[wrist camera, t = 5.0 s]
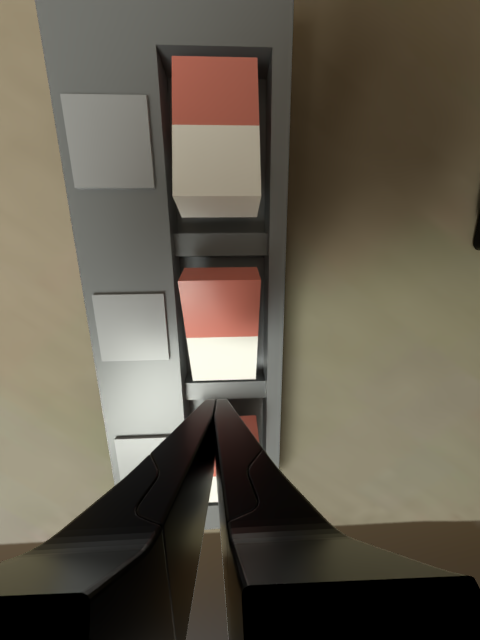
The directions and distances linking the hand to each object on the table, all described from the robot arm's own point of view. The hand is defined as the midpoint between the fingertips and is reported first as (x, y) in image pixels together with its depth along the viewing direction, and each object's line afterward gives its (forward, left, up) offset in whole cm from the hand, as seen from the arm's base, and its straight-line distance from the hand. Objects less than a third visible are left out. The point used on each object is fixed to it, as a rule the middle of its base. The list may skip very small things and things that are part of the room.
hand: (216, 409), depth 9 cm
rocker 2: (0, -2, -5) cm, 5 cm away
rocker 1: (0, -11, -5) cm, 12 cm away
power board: (+2, -2, -9) cm, 9 cm away
